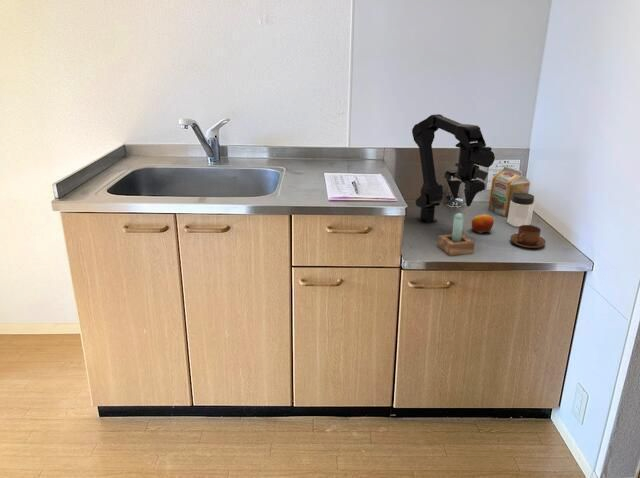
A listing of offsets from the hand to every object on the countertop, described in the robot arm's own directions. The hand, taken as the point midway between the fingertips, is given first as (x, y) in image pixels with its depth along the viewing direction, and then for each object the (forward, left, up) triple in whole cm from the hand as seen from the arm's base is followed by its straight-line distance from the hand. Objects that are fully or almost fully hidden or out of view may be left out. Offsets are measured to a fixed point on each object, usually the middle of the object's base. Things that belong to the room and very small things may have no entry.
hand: (461, 202), depth 184 cm
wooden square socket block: (+12, -8, -13) cm, 19 cm away
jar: (-4, +30, -13) cm, 33 cm away
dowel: (+12, -8, -13) cm, 19 cm away
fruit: (-1, +11, -13) cm, 17 cm away
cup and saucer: (+15, +20, -13) cm, 28 cm away
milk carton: (-18, +34, -13) cm, 41 cm away
